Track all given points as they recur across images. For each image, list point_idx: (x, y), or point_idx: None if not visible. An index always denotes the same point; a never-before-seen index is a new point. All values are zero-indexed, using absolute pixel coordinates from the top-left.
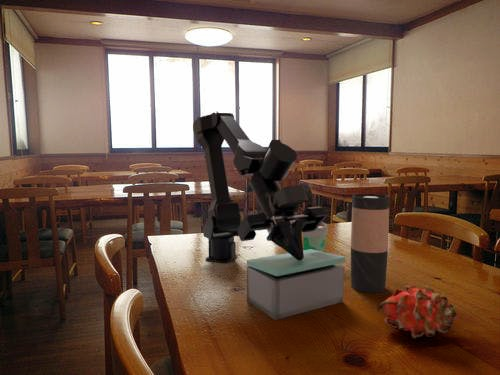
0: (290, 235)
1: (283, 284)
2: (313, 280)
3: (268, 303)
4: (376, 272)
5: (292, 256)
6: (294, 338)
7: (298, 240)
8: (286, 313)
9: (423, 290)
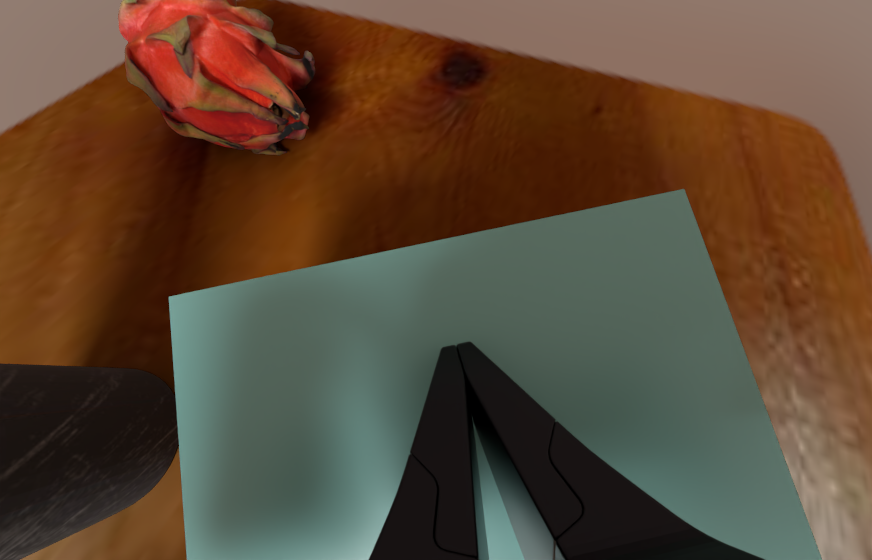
0: (570, 496)
1: None
2: None
3: None
4: (49, 365)
5: None
6: (553, 173)
7: (456, 446)
8: None
9: (151, 12)
